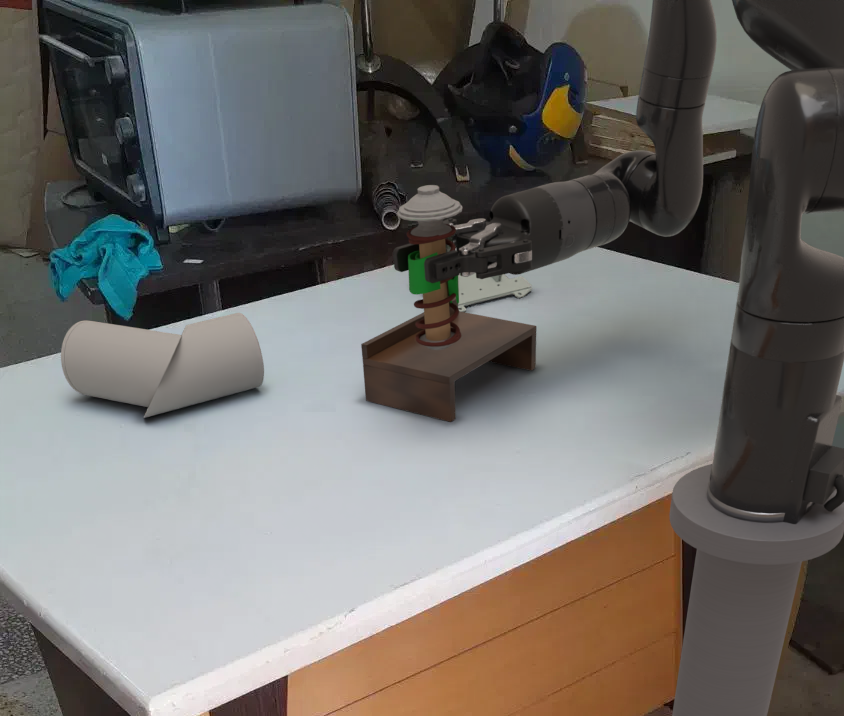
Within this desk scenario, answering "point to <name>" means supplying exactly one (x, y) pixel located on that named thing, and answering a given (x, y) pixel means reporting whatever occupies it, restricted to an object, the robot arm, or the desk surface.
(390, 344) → the shelf
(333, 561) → the desk surface
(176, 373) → the elbow connector
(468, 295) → the metal bracket
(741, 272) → the robot arm
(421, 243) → the shock absorber
